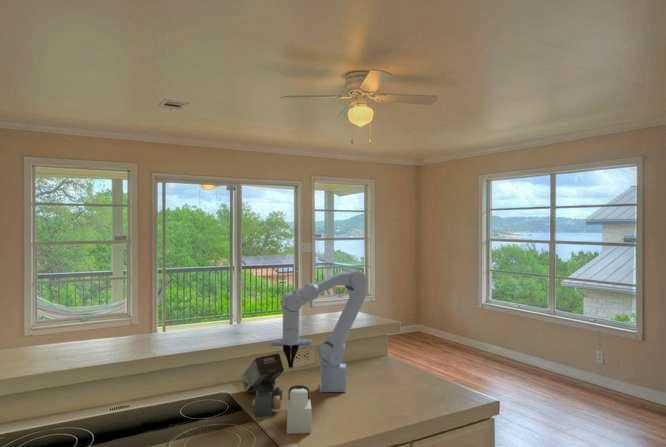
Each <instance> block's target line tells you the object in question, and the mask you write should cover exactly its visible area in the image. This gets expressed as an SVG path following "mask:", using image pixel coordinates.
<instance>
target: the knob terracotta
mask: <svg viewBox="0 0 666 447" xmlns="http://www.w3.org/2000/svg"><path fill="white" fill-rule="evenodd" d="M281 401H282V400H281V397H280V396H274V397H273V399H272V406H273V410H280V409H281V403H282V402H281ZM252 406H253V407H255V398H252Z"/></svg>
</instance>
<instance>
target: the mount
mask: <svg viewBox="0 0 666 447" xmlns="http://www.w3.org/2000/svg"><path fill="white" fill-rule="evenodd" d="M276 384H277V383H276V380H275V381H261V382H260V385H259V388H258V390H256V391H257V393H256V392H255V396H254V399H255V406H254V417H255V418H256V417H260V418H261V417H272V414H273V410H274V409H273V406H272V399H273V397H274V391H276V387H277V386H276Z"/></svg>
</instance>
